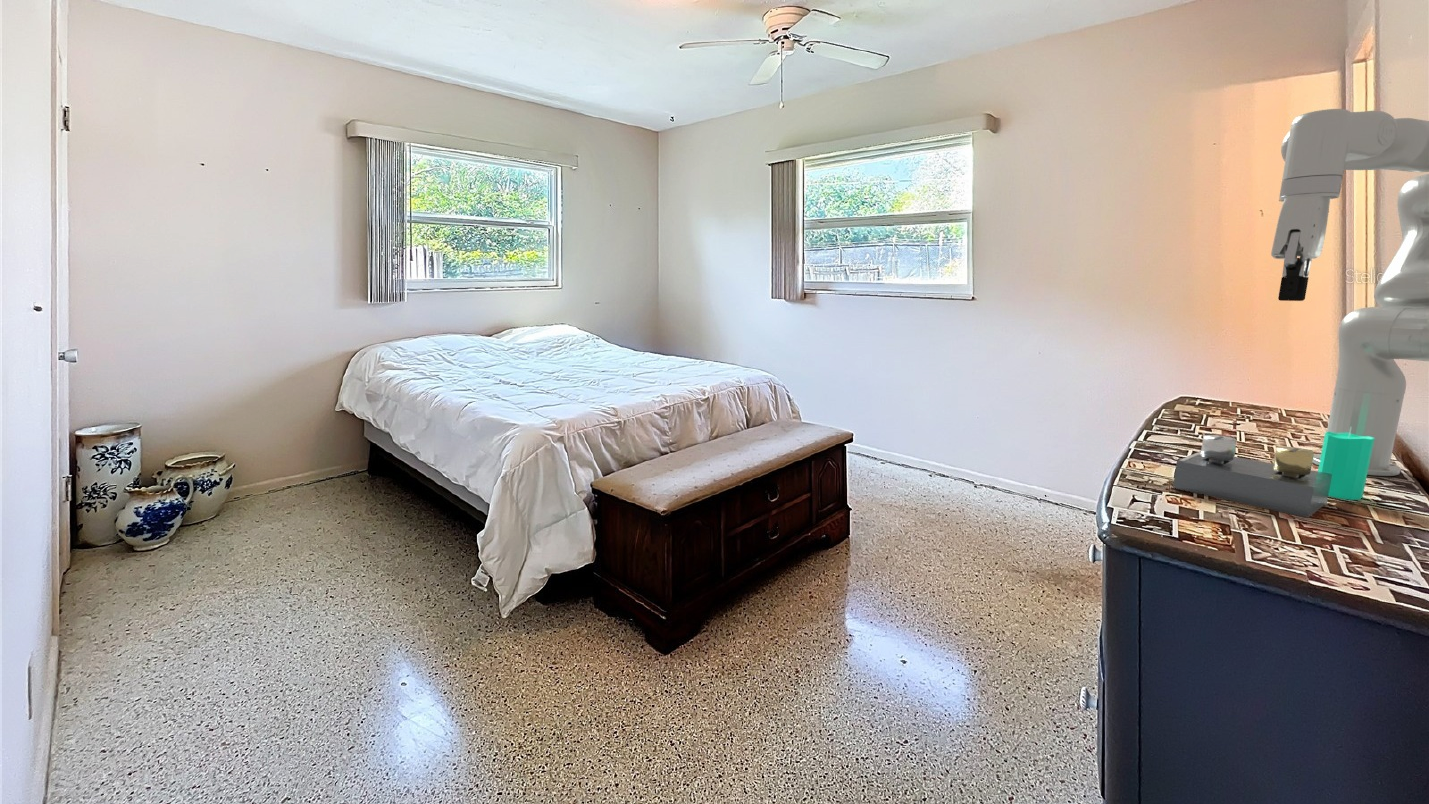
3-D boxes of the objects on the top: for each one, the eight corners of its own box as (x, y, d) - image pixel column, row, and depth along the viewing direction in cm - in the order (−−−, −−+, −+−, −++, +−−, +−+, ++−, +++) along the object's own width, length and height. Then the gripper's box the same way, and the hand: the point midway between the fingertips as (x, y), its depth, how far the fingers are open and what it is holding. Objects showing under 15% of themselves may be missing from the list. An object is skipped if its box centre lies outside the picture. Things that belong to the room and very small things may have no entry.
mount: (1197, 476, 120) (1201, 450, 119) (1326, 503, 105) (1332, 473, 104) (1172, 488, 113) (1176, 460, 112) (1307, 518, 98) (1313, 486, 97)
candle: (1372, 501, 107) (1386, 431, 104) (1330, 498, 108) (1343, 429, 106) (1345, 489, 112) (1358, 423, 110) (1305, 487, 114) (1317, 422, 111)
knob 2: (1272, 490, 108) (1280, 444, 107) (1308, 497, 104) (1317, 450, 103) (1264, 495, 105) (1272, 448, 104) (1301, 502, 102) (1310, 454, 100)
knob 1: (1202, 475, 116) (1208, 433, 114) (1233, 482, 112) (1240, 438, 111) (1192, 480, 113) (1199, 436, 112) (1224, 486, 110) (1231, 441, 108)
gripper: (1292, 196, 114) (1275, 299, 117) (1268, 188, 105) (1250, 300, 109) (1350, 191, 108) (1330, 300, 111) (1329, 183, 99) (1308, 301, 103)
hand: (1291, 300), depth 110 cm, fingers closed
